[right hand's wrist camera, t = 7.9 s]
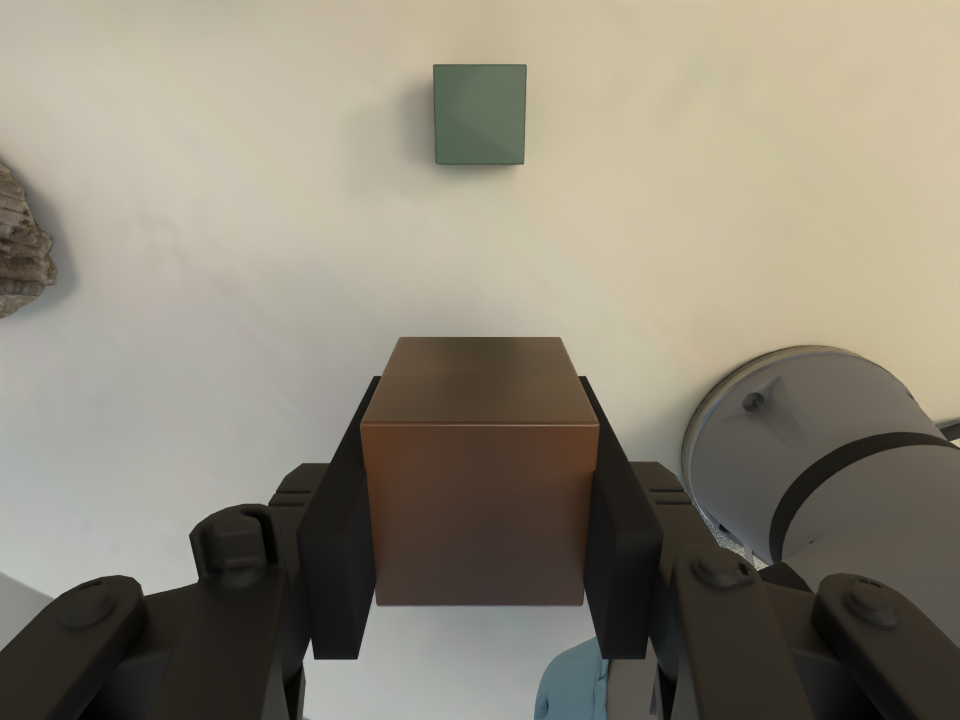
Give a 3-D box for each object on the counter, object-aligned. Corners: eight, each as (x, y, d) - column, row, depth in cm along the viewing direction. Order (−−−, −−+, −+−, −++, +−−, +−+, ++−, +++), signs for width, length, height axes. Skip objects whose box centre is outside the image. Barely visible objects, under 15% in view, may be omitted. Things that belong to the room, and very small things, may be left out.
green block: (519, 80, 29) (526, 64, 25) (517, 164, 31) (524, 164, 26) (440, 80, 29) (432, 64, 25) (442, 164, 31) (435, 164, 26)
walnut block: (561, 336, 14) (601, 422, 10) (552, 475, 16) (583, 608, 11) (398, 336, 14) (358, 422, 10) (406, 475, 16) (376, 608, 11)
